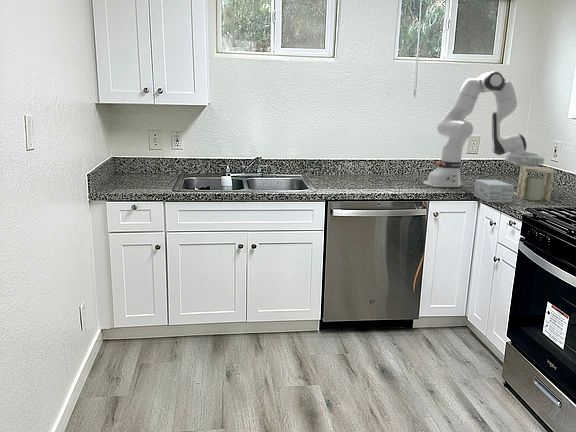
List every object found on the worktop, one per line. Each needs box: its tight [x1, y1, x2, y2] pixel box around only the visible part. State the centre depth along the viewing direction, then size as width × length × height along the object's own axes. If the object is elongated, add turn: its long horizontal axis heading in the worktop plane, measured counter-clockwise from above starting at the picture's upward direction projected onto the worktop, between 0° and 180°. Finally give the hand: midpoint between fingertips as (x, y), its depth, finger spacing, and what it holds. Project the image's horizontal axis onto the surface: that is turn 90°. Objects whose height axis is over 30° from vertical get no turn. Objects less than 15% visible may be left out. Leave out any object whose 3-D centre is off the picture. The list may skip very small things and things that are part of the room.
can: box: [524, 175, 545, 201], centre depth 271 cm, size 9×9×12 cm
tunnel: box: [513, 165, 555, 202], centre depth 278 cm, size 24×14×16 cm, turn 171°
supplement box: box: [473, 179, 515, 204], centre depth 267 cm, size 17×13×9 cm
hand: (528, 161), depth 283 cm, fingers closed
